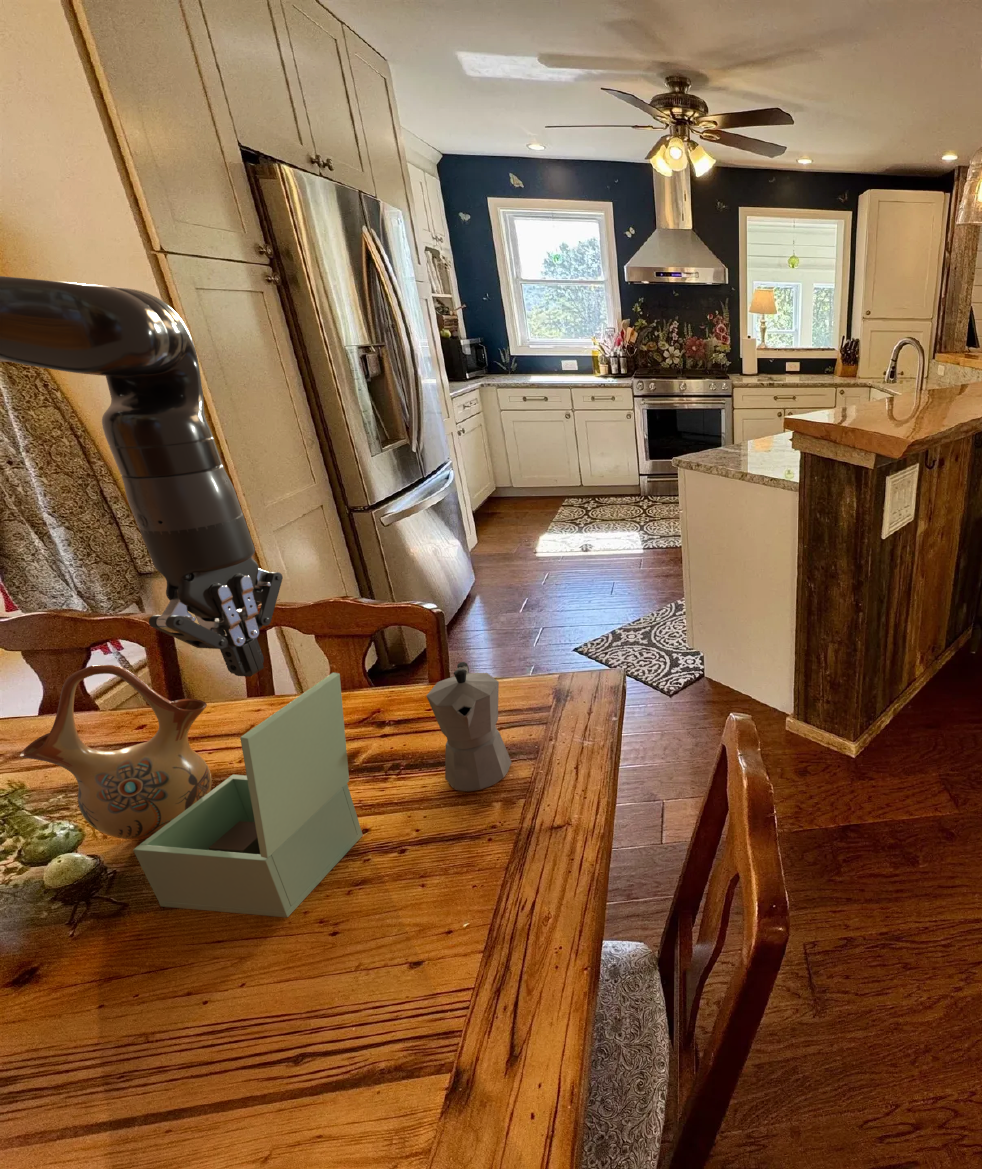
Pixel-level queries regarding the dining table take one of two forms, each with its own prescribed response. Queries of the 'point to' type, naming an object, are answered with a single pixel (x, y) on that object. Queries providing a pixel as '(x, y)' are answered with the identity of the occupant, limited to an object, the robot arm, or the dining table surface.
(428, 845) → the dining table surface
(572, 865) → the dining table surface
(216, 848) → the block
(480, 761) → the coffeepot
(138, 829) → the ceramic vessel
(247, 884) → the box
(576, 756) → the dining table surface
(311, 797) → the lid
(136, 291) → the robot arm
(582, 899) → the dining table surface
